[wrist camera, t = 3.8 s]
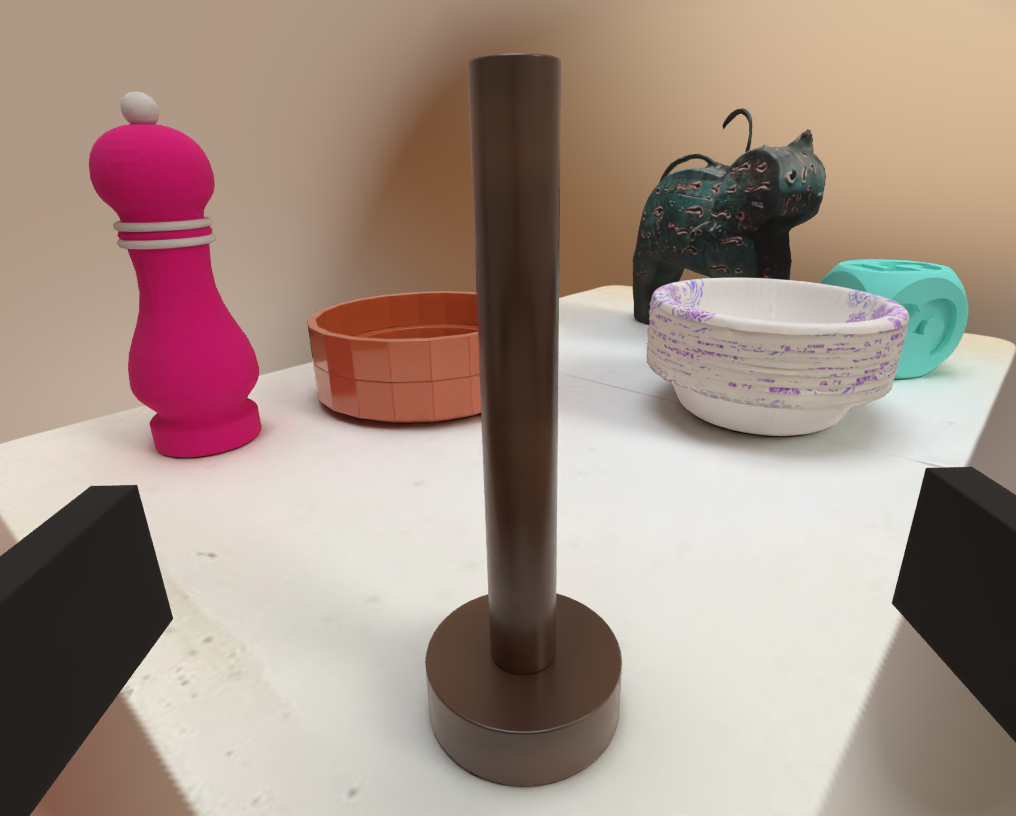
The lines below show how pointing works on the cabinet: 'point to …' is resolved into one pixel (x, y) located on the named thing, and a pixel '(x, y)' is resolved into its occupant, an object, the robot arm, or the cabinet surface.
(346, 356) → the bowl
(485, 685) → the dowel on disc base
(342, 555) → the cabinet surface
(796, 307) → the paper bowls
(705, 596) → the cabinet surface
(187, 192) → the pepper mill
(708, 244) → the ceramic cat
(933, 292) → the decorative dice
